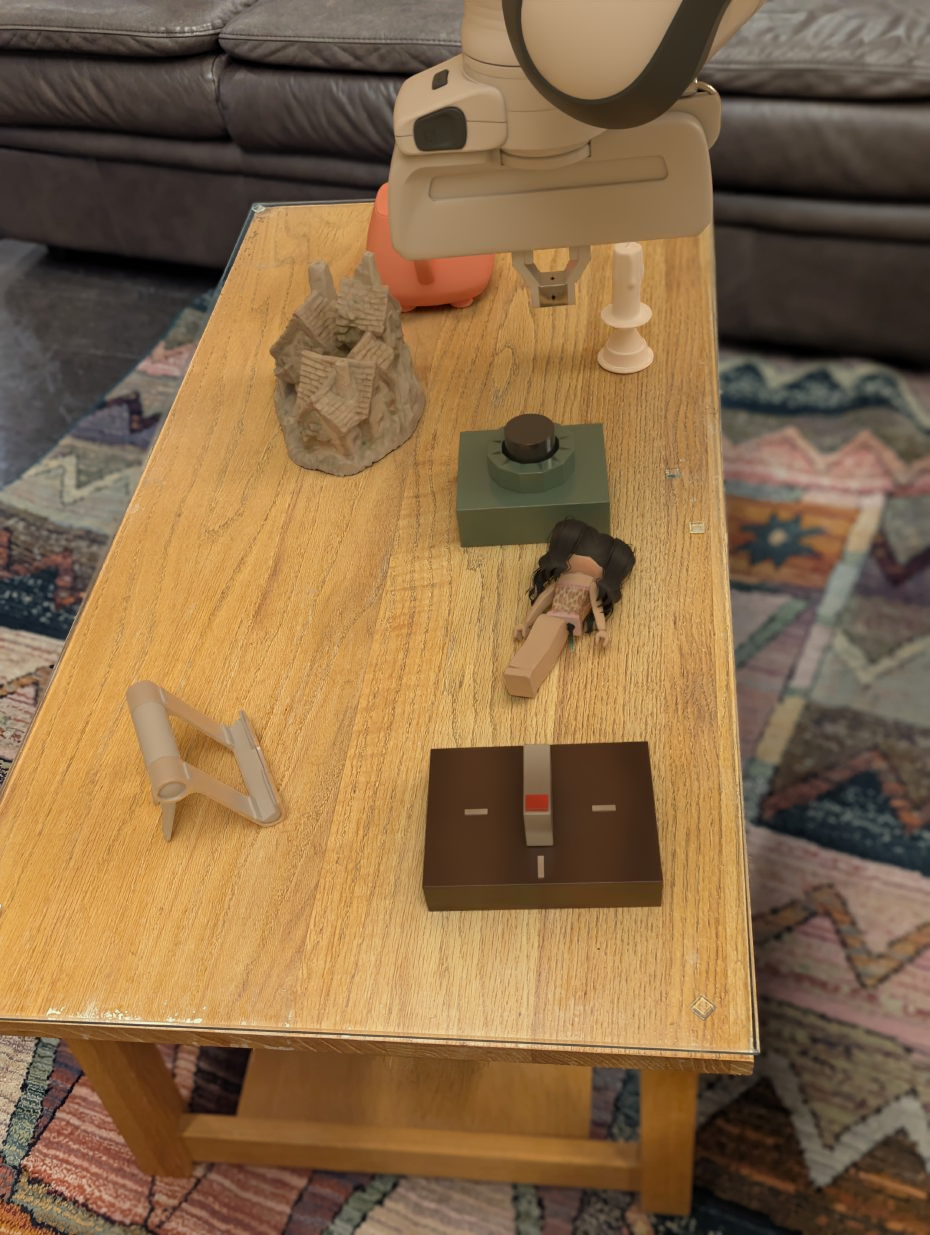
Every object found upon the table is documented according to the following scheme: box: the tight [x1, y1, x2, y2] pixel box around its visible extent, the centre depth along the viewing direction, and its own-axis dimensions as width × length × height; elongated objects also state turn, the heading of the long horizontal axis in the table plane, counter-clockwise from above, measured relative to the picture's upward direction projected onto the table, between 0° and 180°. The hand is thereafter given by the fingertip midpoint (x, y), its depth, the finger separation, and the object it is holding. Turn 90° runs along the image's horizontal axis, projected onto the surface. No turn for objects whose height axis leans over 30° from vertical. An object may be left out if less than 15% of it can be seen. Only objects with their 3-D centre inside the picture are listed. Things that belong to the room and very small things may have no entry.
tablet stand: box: [125, 679, 287, 842], centre depth 70 cm, size 9×8×8 cm
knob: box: [504, 412, 556, 464], centre depth 85 cm, size 4×4×2 cm
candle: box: [596, 242, 655, 374], centre depth 98 cm, size 5×5×12 cm
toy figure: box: [502, 515, 637, 699], centre depth 78 cm, size 7×6×15 cm
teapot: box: [365, 181, 496, 313], centre depth 111 cm, size 13×20×12 cm, turn 178°
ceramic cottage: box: [269, 250, 426, 478], centre depth 96 cm, size 16×16×15 cm
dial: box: [522, 743, 553, 846], centre depth 65 cm, size 5×2×4 cm, turn 178°
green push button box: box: [455, 421, 611, 548], centre depth 88 cm, size 12×10×6 cm
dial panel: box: [421, 740, 664, 912], centre depth 67 cm, size 14×10×3 cm
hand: (553, 302), depth 73 cm, fingers closed
